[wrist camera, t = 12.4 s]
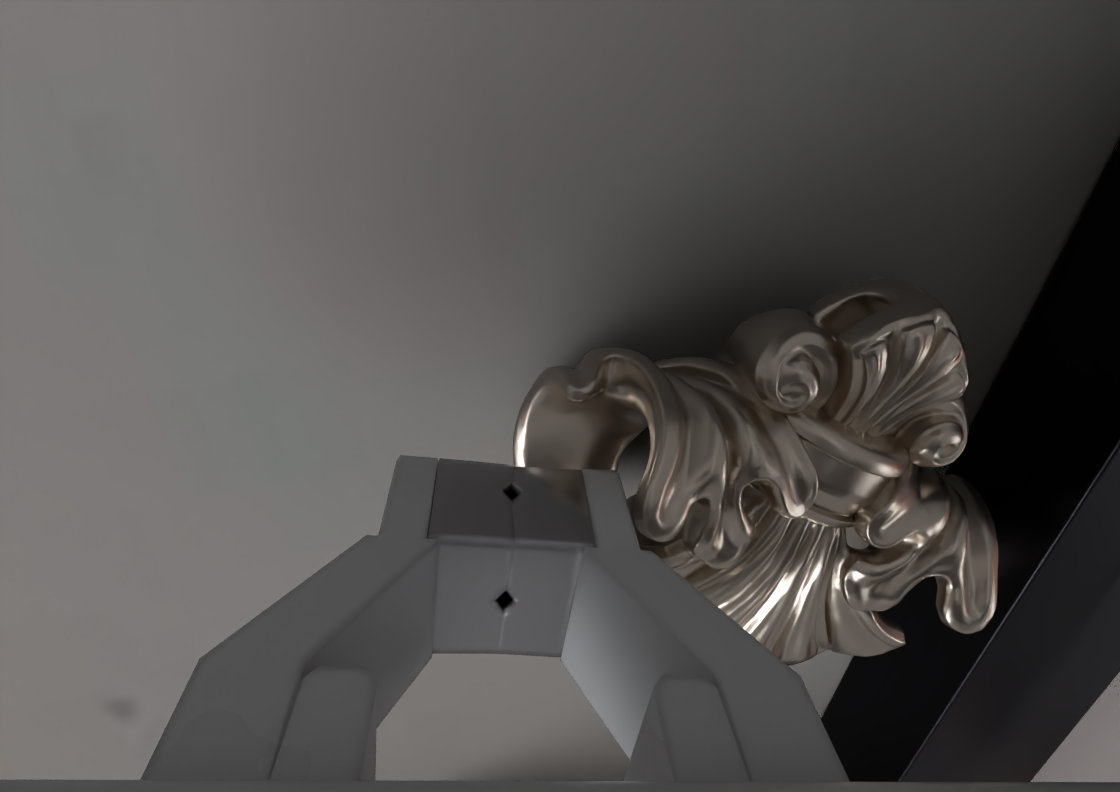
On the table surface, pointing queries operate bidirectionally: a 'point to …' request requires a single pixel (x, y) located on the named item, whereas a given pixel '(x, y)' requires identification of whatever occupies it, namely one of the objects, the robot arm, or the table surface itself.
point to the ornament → (794, 466)
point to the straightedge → (1017, 553)
